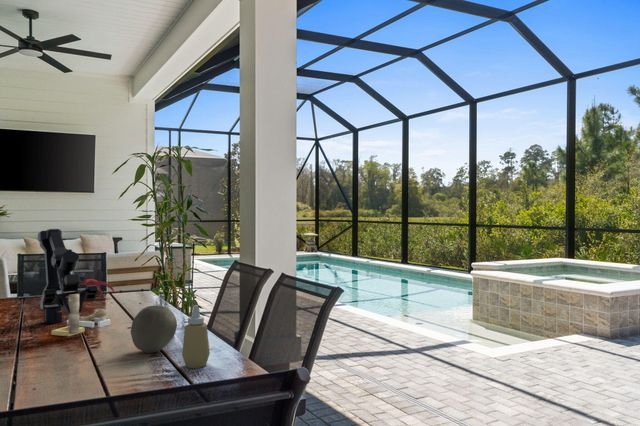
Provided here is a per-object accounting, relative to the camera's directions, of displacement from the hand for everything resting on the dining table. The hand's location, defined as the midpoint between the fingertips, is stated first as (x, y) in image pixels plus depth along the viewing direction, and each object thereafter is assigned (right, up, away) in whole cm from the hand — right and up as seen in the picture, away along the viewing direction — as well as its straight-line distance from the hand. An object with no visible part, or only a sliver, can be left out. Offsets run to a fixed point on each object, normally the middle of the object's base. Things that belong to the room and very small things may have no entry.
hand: (74, 312), depth 188 cm
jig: (-7, -9, +16) cm, 20 cm away
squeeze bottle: (+53, -9, -36) cm, 65 cm away
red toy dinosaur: (-35, -10, +94) cm, 101 cm away
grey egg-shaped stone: (+36, -9, -20) cm, 42 cm away
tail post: (-1, -8, +1) cm, 8 cm away
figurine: (-6, -9, +23) cm, 26 cm away
